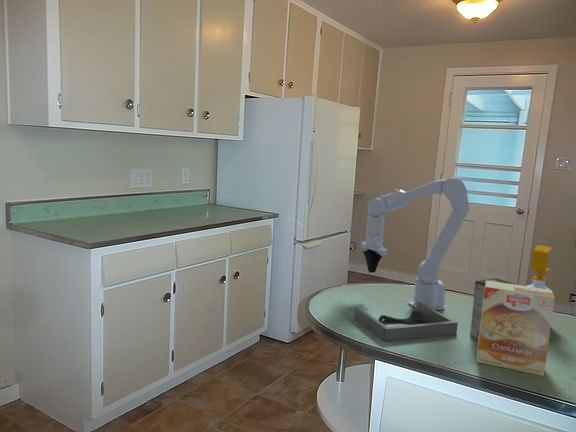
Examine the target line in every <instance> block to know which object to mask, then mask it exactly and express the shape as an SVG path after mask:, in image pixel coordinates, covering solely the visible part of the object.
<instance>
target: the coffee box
mask: <svg viewBox="0 0 576 432" xmlns="http://www.w3.org/2000/svg"><path fill="white" fill-rule="evenodd" d="M486 280H488V281H494V282H501V283H507V284H514V285H517V284H516V283H514V282H510V281H508V280H503V279H500V278H491V279H481V280H475V283H474V292H473V303H472V312H471V313H472V314H471V320H470V321H471V322H470V323H471V324H470V332H469V335H470V336H471V337H475V338H476V339H479V330H480V323H481V315H482V307H483V298H484V290H485V282H486Z"/></svg>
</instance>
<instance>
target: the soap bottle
mask: <svg viewBox="0 0 576 432" xmlns="http://www.w3.org/2000/svg"><path fill="white" fill-rule="evenodd" d="M552 249H553V248H552V246H549V245H547V246H546V245H540V244H538V245H536V246H535V248H534V249H533V252H532V257H531V264H530V269H531V270H534V272H535V273H536V276H535V275H534V276H533V278H532V283H531V284H528V285H527V284H526V286H528V287H534V288H541V289H548V290H551V289H550V288H549V287H547V286H546V277H544V274H546V273H548V272H549V271H550V268H547V266H548V258H549V255H550V253H551V251H552ZM553 295H554V293H553ZM554 296H555V295H554Z"/></svg>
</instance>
